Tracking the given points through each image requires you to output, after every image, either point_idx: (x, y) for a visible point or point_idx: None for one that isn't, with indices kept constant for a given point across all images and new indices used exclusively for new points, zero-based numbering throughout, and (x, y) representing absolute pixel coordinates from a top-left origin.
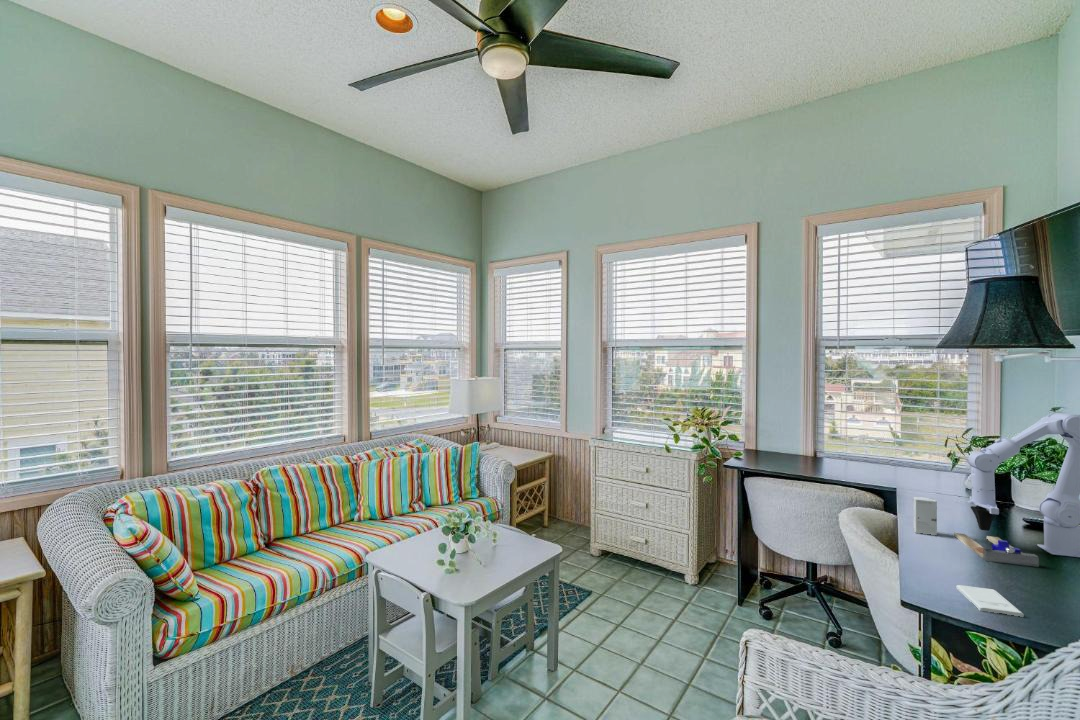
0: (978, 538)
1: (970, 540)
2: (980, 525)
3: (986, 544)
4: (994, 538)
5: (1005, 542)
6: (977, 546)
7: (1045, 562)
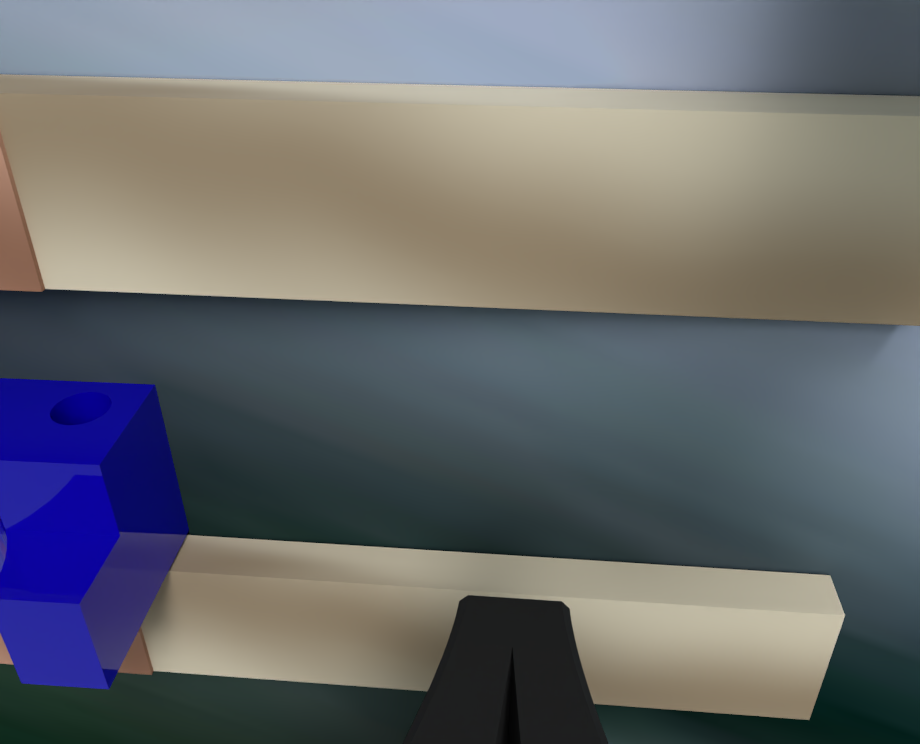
0: (845, 479)
1: (460, 248)
2: (436, 677)
3: (517, 455)
4: (724, 655)
5: (12, 644)
6: (78, 213)
7: (30, 725)
